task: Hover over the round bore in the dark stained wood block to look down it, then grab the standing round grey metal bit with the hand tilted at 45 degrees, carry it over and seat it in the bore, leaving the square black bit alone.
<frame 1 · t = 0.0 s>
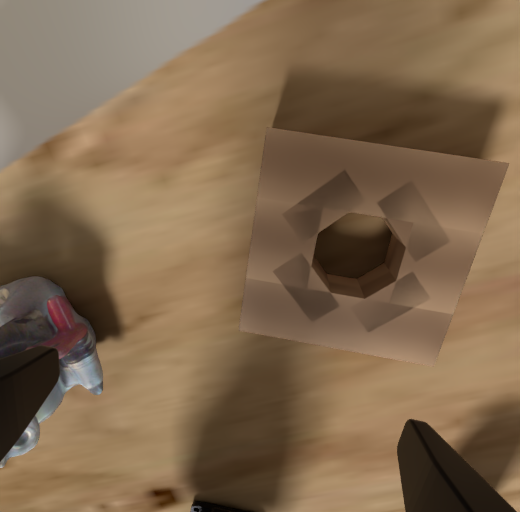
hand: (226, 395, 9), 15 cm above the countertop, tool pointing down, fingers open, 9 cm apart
brake caliper: (51, 329, 27), on the countertop
bore block: (350, 241, 22), on the countertop
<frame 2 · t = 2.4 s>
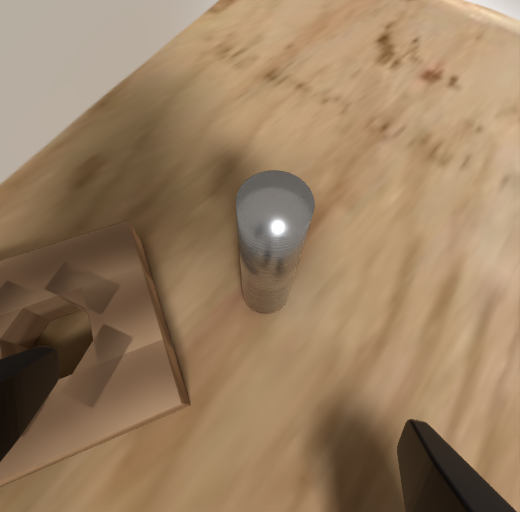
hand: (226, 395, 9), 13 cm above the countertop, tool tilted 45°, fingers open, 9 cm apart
round bit: (265, 291, 24), on the countertop
bore block: (71, 349, 22), on the countertop
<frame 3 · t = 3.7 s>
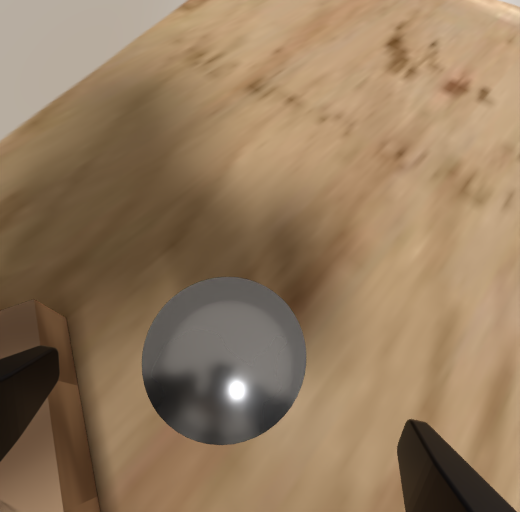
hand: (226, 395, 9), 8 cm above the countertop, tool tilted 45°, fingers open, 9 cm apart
round bit: (239, 396, 17), on the countertop
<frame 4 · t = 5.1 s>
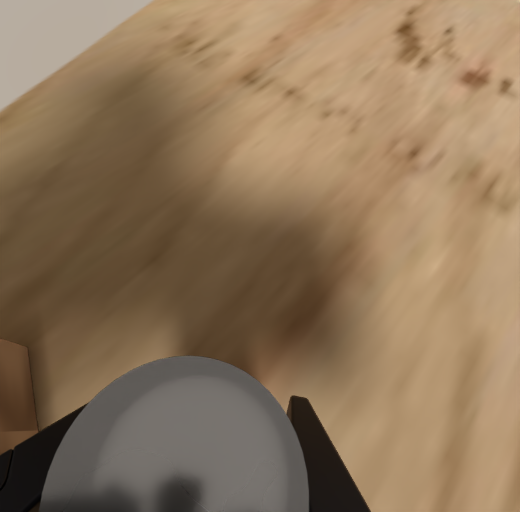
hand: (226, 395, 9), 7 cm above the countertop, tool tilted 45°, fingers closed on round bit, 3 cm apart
round bit: (228, 442, 14), on the countertop, touching gripper
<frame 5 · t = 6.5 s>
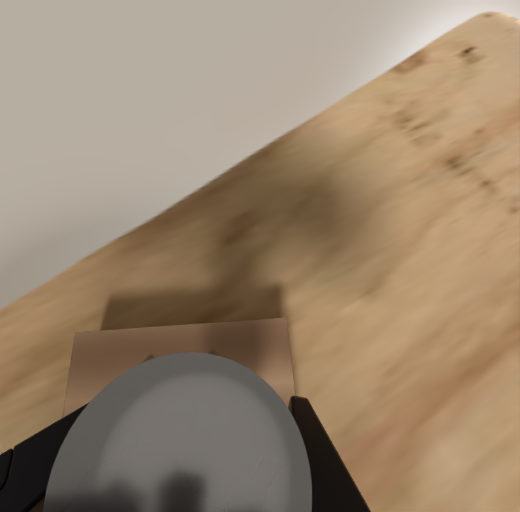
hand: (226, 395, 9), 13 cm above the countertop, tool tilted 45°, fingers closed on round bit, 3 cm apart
round bit: (229, 441, 14), point 7 cm above the countertop, touching gripper
bore block: (190, 439, 20), on the countertop
when the fingers open (8 cm above the countertop, at t = 8.2 s): round bit drops 1 cm, resting in bore block.
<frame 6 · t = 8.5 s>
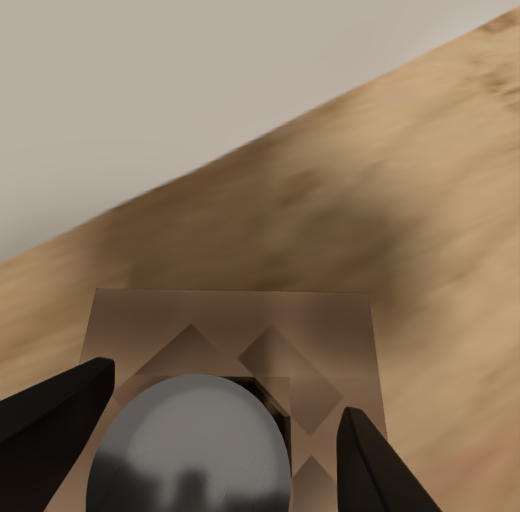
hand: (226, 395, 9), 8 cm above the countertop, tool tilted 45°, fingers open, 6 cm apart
round bit: (230, 441, 15), resting in bore block
bore block: (230, 441, 15), on the countertop
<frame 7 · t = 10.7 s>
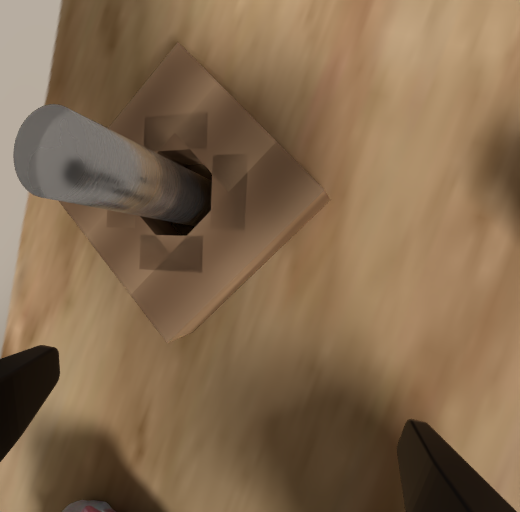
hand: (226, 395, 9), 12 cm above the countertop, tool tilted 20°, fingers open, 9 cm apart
round bit: (197, 201, 22), resting in bore block
bore block: (197, 201, 22), on the countertop
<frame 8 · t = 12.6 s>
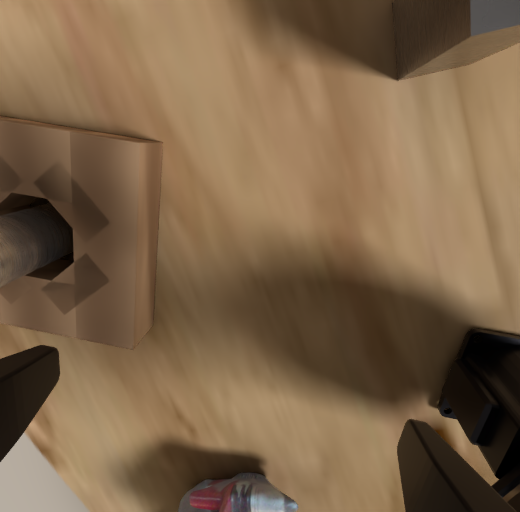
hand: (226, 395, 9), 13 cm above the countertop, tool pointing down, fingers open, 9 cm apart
brake caliper: (247, 503, 29), on the countertop
round bit: (67, 225, 22), resting in bore block
square bit: (431, 34, 17), on the countertop
bore block: (66, 225, 22), on the countertop
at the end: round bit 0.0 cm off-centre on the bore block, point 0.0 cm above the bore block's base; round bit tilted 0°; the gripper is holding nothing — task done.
